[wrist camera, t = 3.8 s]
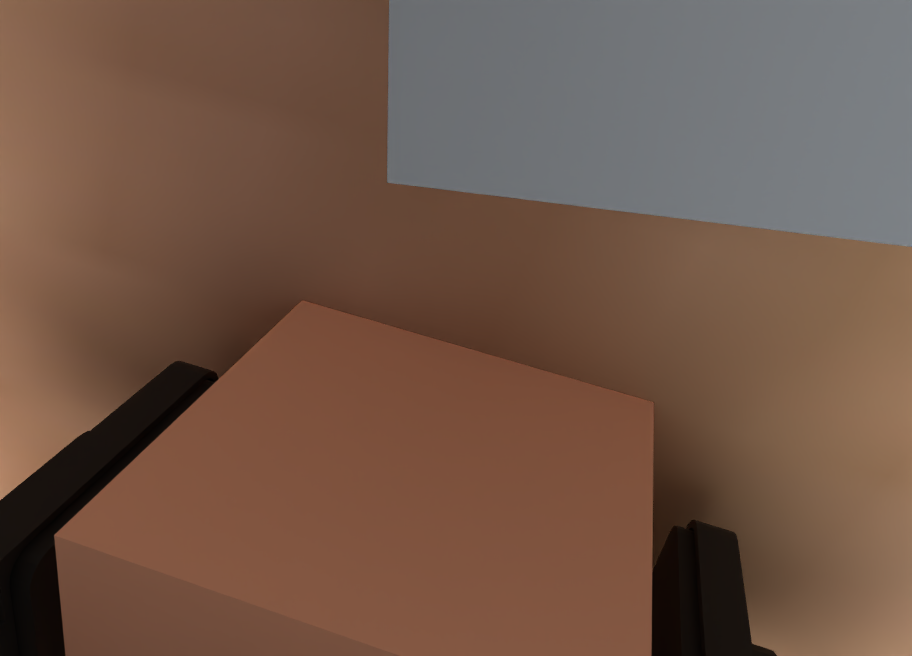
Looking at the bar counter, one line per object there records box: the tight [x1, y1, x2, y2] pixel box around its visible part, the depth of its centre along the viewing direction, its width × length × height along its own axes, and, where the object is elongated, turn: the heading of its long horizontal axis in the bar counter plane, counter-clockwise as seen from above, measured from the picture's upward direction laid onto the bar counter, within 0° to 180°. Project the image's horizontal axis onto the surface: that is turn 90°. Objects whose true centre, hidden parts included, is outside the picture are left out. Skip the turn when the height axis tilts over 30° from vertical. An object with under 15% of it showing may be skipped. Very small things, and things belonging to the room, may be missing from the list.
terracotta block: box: [54, 300, 654, 656], centre depth 9 cm, size 5×5×5 cm
